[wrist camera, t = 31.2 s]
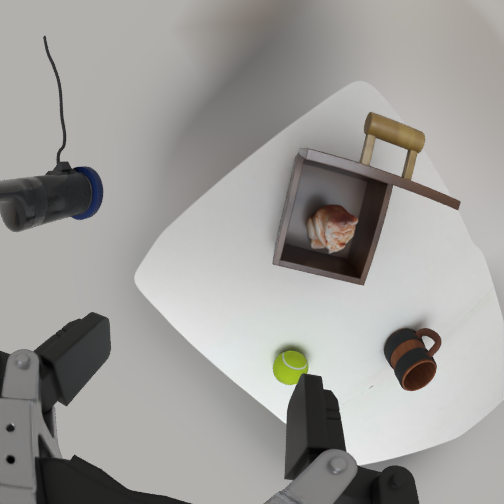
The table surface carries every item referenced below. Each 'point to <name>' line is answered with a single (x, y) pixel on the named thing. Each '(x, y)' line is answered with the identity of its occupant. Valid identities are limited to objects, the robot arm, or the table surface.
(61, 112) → the robot arm
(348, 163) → the lid
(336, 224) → the figurine
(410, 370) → the mug
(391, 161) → the table surface
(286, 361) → the tennis ball
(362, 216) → the chest
